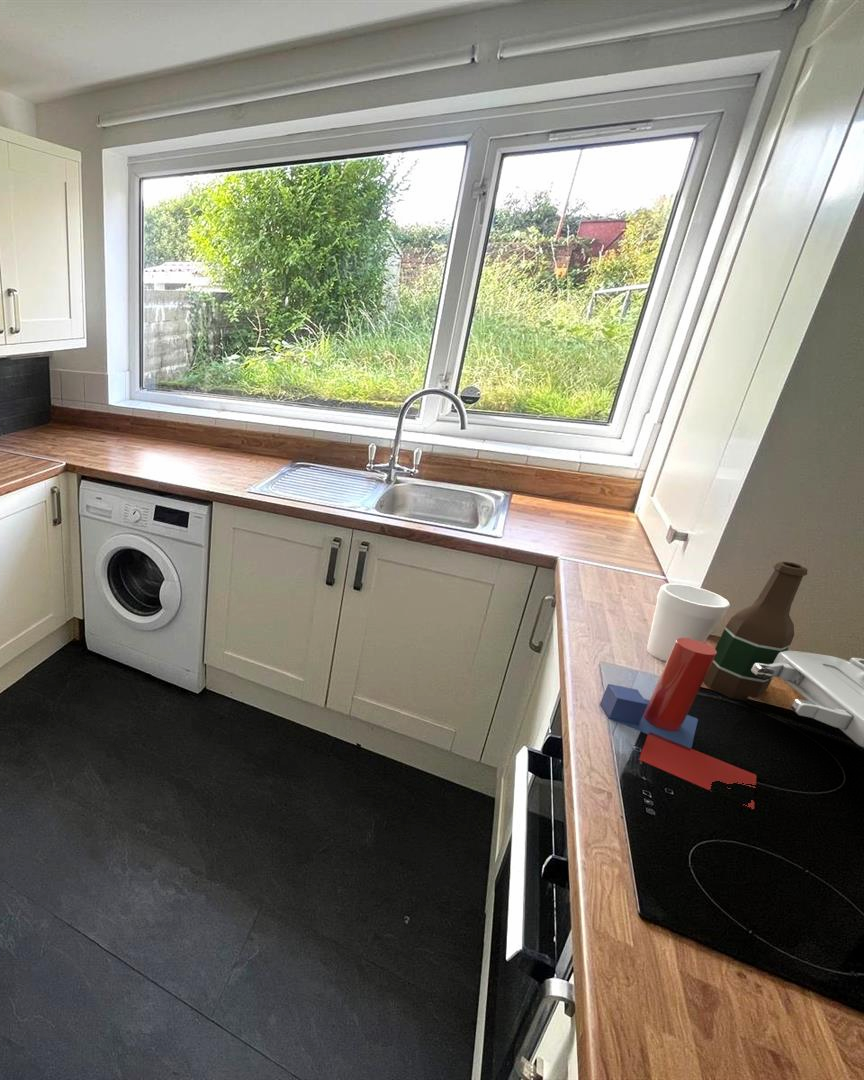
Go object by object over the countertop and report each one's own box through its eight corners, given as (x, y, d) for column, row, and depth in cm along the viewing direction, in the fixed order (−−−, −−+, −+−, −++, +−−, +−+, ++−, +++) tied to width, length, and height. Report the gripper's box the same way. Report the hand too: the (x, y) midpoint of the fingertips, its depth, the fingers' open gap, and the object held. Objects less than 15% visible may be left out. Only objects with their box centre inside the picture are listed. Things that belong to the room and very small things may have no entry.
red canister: (682, 722, 92) (718, 646, 86) (678, 735, 89) (715, 658, 83) (645, 708, 95) (678, 634, 89) (640, 720, 92) (674, 645, 86)
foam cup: (624, 645, 113) (649, 586, 108) (657, 639, 116) (682, 580, 111) (678, 673, 105) (707, 610, 100) (712, 665, 108) (742, 604, 103)
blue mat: (697, 720, 93) (698, 718, 93) (689, 753, 86) (690, 751, 85) (620, 691, 99) (621, 689, 99) (607, 719, 92) (608, 717, 92)
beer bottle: (729, 676, 104) (790, 555, 95) (774, 704, 97) (844, 576, 88) (688, 676, 104) (744, 554, 95) (729, 704, 97) (795, 575, 88)
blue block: (628, 709, 94) (637, 689, 93) (638, 725, 91) (648, 704, 89) (599, 703, 95) (608, 683, 94) (608, 718, 92) (617, 698, 90)
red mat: (755, 777, 82) (756, 775, 81) (752, 812, 76) (754, 809, 76) (647, 733, 90) (648, 731, 89) (638, 761, 84) (638, 759, 84)
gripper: (954, 780, 73) (813, 751, 77) (836, 687, 90) (727, 668, 95) (983, 740, 70) (836, 712, 74) (856, 652, 88) (743, 634, 92)
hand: (774, 687), depth 85 cm, fingers open, 8 cm apart
